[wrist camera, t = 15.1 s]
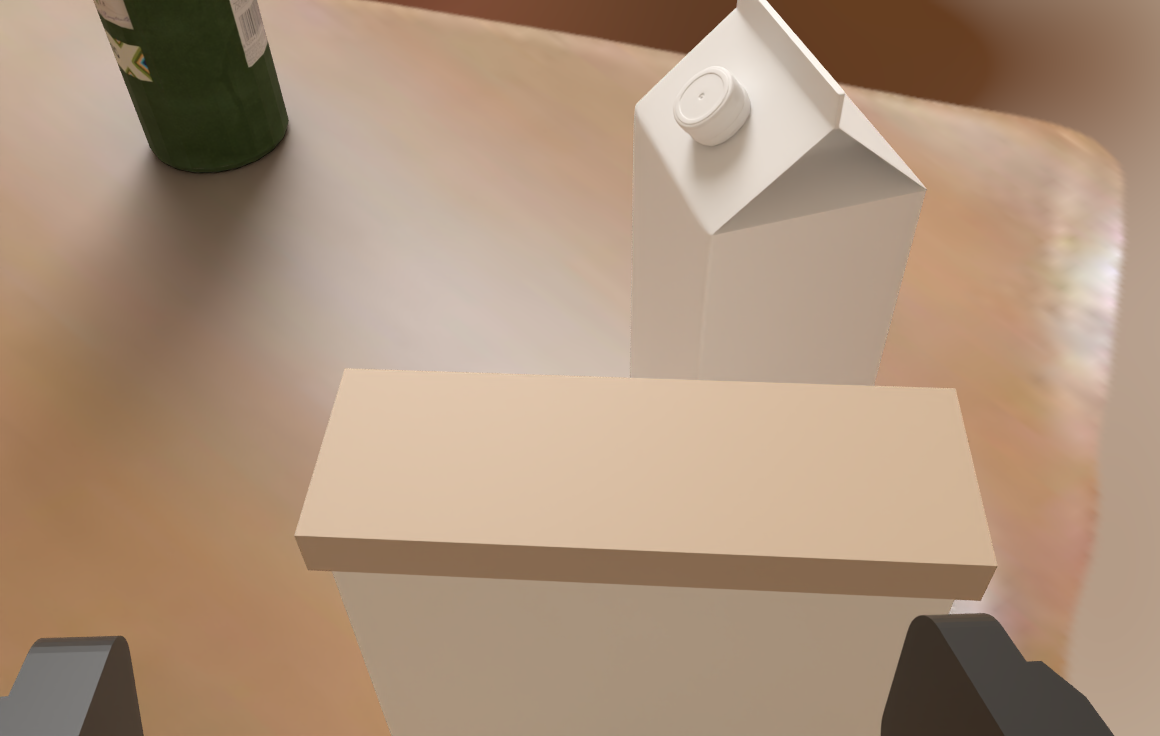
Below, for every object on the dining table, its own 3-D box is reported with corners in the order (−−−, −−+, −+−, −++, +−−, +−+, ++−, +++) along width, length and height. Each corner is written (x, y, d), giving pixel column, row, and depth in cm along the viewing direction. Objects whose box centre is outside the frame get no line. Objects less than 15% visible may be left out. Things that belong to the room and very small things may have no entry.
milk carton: (778, 365, 47) (845, -42, 34) (848, 487, 43) (960, 71, 29) (628, 401, 46) (633, -7, 32) (684, 530, 42) (718, 118, 28)
